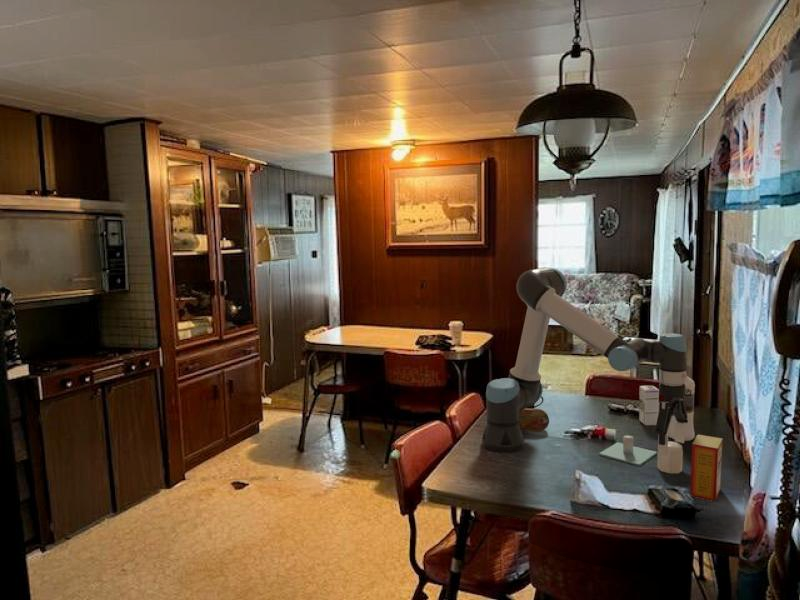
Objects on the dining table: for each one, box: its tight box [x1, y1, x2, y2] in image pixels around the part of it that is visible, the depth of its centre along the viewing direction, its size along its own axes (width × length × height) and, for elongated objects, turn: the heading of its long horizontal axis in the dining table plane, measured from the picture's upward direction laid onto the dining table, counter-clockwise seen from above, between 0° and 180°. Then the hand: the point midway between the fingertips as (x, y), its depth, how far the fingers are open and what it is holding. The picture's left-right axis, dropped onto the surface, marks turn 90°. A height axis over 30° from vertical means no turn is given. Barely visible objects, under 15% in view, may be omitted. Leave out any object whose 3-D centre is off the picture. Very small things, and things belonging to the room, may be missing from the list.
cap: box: [656, 440, 684, 474], centre depth 186 cm, size 7×7×8 cm
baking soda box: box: [689, 434, 724, 502], centre depth 169 cm, size 10×6×16 cm
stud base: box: [598, 435, 658, 467], centre depth 199 cm, size 14×14×6 cm
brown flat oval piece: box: [519, 408, 550, 432], centre depth 226 cm, size 15×3×8 cm, turn 76°
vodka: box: [667, 357, 696, 442], centre depth 212 cm, size 9×9×30 cm
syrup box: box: [638, 385, 660, 426], centre depth 229 cm, size 6×6×14 cm
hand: (671, 448), depth 186 cm, fingers open, 13 cm apart
